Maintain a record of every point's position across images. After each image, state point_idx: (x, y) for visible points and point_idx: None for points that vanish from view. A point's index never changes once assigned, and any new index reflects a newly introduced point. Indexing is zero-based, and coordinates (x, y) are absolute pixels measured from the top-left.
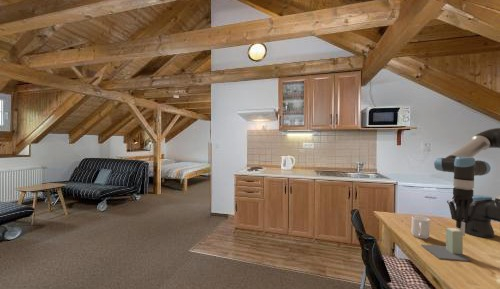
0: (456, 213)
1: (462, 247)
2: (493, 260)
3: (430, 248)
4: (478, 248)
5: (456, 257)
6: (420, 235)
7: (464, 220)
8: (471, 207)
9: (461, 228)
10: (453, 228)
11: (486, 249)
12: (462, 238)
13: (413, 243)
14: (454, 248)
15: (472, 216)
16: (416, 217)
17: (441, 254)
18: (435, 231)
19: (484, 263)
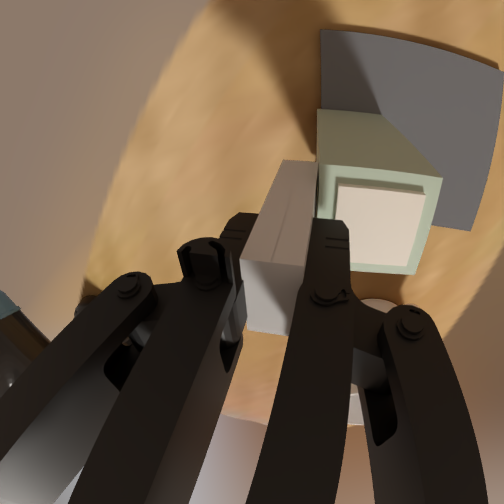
0: (426, 482)
1: (319, 117)
2: (166, 80)
3: (463, 183)
4: (160, 213)
5: (395, 64)
6: (416, 305)
7: (231, 307)
8: (11, 498)
9: (312, 207)
10: (355, 257)
11: (132, 207)
12: (320, 137)
13: (481, 249)
14: (377, 120)
15: (58, 345)
16: (360, 415)
17: (462, 105)
18: (252, 351)
19: (247, 23)
